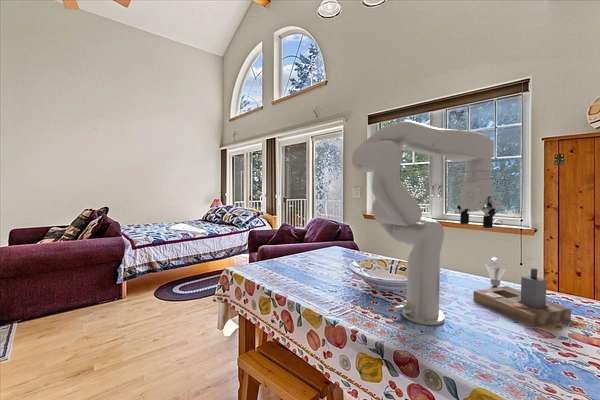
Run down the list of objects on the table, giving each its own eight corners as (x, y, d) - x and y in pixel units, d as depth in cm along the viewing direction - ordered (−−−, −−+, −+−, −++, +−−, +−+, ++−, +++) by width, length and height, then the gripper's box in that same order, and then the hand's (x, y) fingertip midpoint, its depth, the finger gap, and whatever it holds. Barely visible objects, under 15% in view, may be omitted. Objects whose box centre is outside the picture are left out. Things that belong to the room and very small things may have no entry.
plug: (534, 319, 86) (536, 271, 86) (520, 313, 91) (521, 267, 90) (545, 317, 88) (546, 270, 87) (530, 311, 92) (531, 266, 91)
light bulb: (509, 290, 110) (510, 260, 109) (489, 289, 111) (490, 259, 111) (500, 284, 117) (501, 256, 116) (482, 283, 118) (482, 255, 117)
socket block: (532, 327, 82) (533, 314, 81) (473, 300, 101) (473, 289, 101) (570, 319, 86) (571, 307, 86) (507, 295, 105) (507, 285, 105)
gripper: (450, 177, 105) (448, 222, 105) (491, 175, 88) (488, 229, 88) (466, 178, 106) (464, 222, 107) (510, 176, 89) (507, 229, 90)
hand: (475, 225), depth 98 cm, fingers open, 9 cm apart
